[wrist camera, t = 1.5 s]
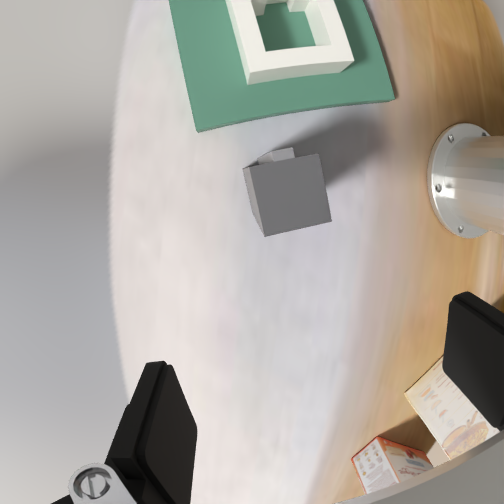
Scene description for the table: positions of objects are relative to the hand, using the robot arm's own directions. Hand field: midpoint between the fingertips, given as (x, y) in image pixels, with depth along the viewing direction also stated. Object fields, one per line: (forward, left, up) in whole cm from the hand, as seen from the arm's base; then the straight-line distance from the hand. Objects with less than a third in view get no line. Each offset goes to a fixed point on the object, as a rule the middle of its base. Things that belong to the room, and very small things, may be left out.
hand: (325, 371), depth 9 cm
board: (-6, -17, -20) cm, 27 cm away
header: (-6, -18, -18) cm, 26 cm away
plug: (-2, -4, -20) cm, 20 cm away
